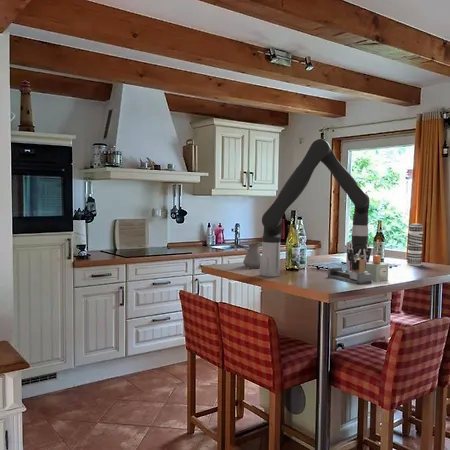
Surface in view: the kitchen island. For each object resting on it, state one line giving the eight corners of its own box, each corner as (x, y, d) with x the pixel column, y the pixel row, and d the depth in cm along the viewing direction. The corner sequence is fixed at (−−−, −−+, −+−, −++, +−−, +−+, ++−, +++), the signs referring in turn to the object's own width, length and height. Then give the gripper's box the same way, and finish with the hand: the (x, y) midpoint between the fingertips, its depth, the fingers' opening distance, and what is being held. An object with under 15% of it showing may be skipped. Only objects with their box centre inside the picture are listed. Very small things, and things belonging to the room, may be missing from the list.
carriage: (357, 280, 224) (357, 260, 223) (348, 278, 229) (348, 258, 228) (367, 279, 227) (368, 259, 226) (358, 277, 232) (359, 257, 232)
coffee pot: (254, 265, 275) (254, 239, 274) (267, 267, 266) (268, 241, 265) (225, 268, 262) (225, 241, 261) (238, 271, 253) (238, 243, 252)
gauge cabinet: (376, 281, 231) (377, 265, 230) (363, 278, 238) (364, 262, 238) (388, 280, 235) (389, 264, 234) (375, 277, 242) (376, 261, 241)
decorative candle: (418, 263, 293) (420, 223, 291) (424, 266, 284) (426, 224, 282) (403, 263, 293) (405, 223, 291) (409, 265, 284) (411, 224, 282)
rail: (359, 284, 222) (359, 275, 221) (327, 276, 241) (328, 267, 241) (371, 283, 226) (372, 273, 225) (339, 275, 245) (340, 266, 245)
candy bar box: (364, 271, 261) (365, 241, 260) (368, 272, 256) (369, 242, 255) (345, 271, 259) (346, 241, 258) (349, 273, 254) (350, 242, 253)
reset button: (376, 264, 234) (376, 256, 233) (371, 263, 237) (371, 255, 236) (381, 263, 235) (381, 255, 235) (376, 262, 238) (376, 254, 238)
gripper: (365, 233, 233) (363, 267, 234) (343, 234, 226) (341, 269, 227) (376, 234, 227) (375, 269, 228) (354, 235, 220) (352, 271, 221)
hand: (358, 269), depth 228 cm, fingers open, 5 cm apart
